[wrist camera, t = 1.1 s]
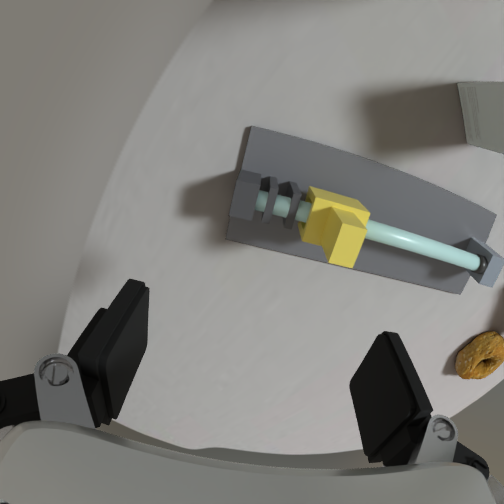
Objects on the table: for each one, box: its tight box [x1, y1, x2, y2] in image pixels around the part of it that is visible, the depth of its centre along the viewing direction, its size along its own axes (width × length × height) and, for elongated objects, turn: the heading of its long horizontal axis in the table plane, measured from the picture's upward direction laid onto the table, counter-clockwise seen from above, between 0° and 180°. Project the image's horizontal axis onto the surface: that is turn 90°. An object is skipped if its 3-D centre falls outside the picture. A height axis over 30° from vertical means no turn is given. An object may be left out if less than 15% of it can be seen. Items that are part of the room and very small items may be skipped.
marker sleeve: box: [298, 186, 370, 268], centre depth 25 cm, size 4×5×8 cm
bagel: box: [455, 331, 504, 379], centre depth 38 cm, size 10×11×5 cm
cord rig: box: [226, 126, 504, 294], centre depth 29 cm, size 12×32×6 cm, turn 77°
